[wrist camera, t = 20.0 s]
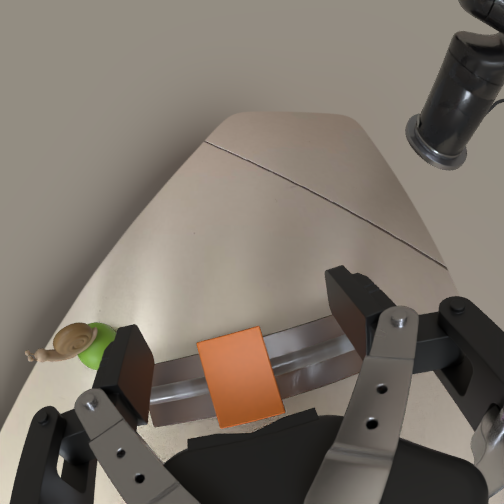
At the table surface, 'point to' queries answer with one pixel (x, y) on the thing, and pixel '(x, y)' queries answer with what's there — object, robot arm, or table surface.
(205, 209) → the table surface
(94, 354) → the snail figurine
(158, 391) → the rail stand
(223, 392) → the orange lidded gift box
